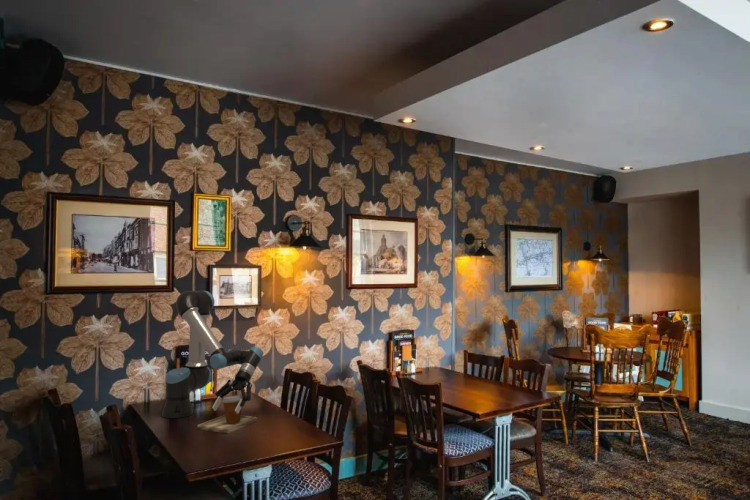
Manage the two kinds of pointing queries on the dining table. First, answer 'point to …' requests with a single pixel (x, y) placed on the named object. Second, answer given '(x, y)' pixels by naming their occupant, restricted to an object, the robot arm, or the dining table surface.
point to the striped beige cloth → (226, 424)
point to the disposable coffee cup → (231, 408)
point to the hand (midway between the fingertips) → (225, 410)
